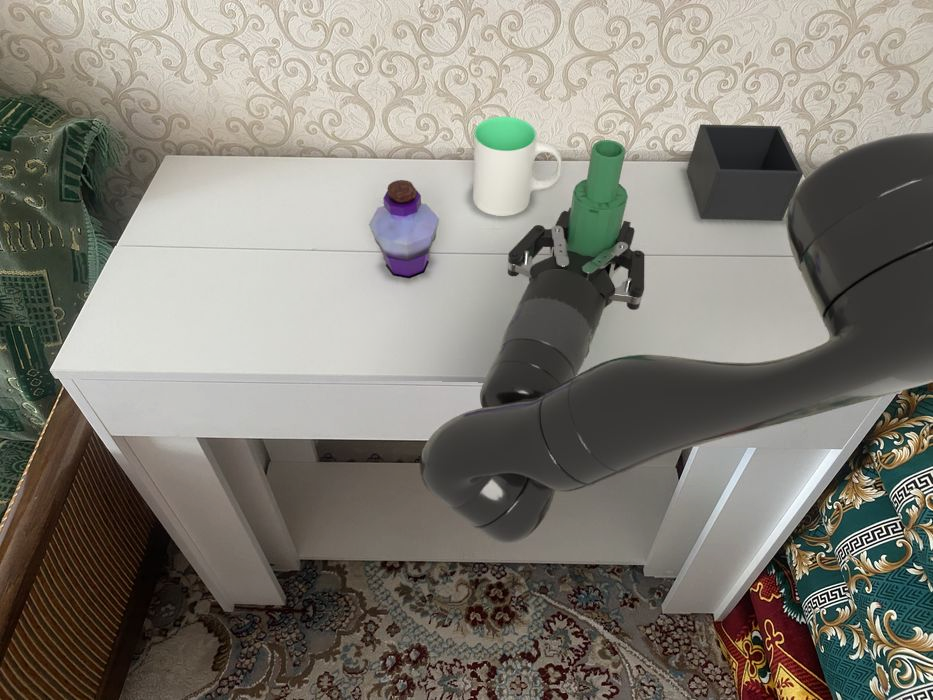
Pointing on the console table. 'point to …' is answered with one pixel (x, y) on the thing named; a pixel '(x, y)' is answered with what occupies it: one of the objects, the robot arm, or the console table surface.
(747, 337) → the console table surface
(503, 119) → the mug
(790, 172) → the bin
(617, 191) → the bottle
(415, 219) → the potion bottle
